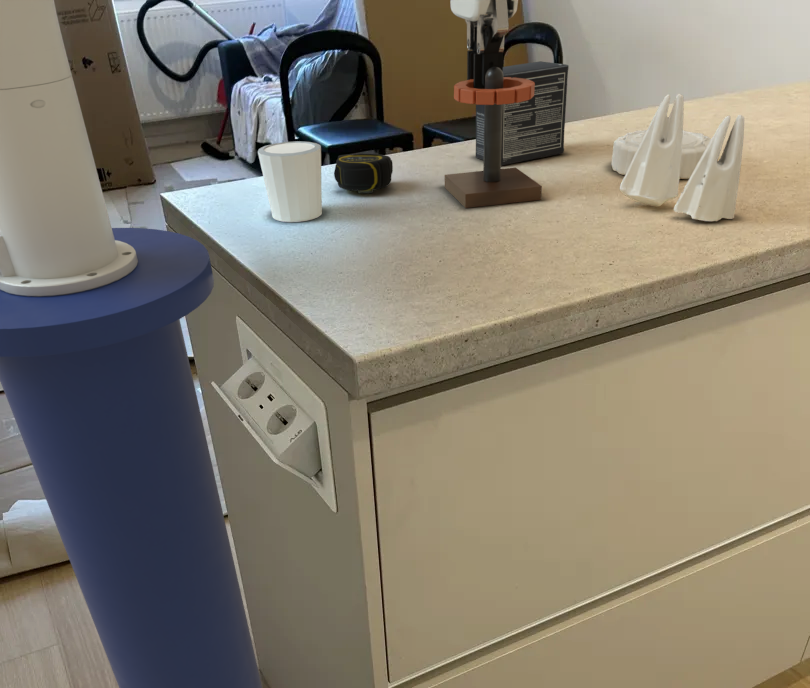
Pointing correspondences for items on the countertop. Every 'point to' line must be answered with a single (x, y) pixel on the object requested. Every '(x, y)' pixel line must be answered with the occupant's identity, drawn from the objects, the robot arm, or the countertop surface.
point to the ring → (495, 92)
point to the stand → (492, 165)
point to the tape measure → (363, 172)
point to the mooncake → (630, 142)
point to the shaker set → (661, 160)
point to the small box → (531, 115)
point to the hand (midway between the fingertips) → (484, 91)
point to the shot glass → (292, 180)
